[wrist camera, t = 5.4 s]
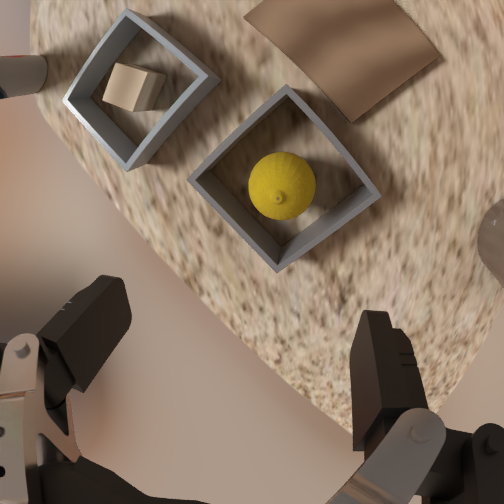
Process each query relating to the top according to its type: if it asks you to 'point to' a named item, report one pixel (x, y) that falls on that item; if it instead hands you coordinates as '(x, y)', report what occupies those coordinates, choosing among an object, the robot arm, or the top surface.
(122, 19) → the slate-blue bin
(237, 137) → the charcoal bin
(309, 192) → the lemon
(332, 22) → the walnut board
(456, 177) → the top surface
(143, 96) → the birch block
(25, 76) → the lotion bottle
